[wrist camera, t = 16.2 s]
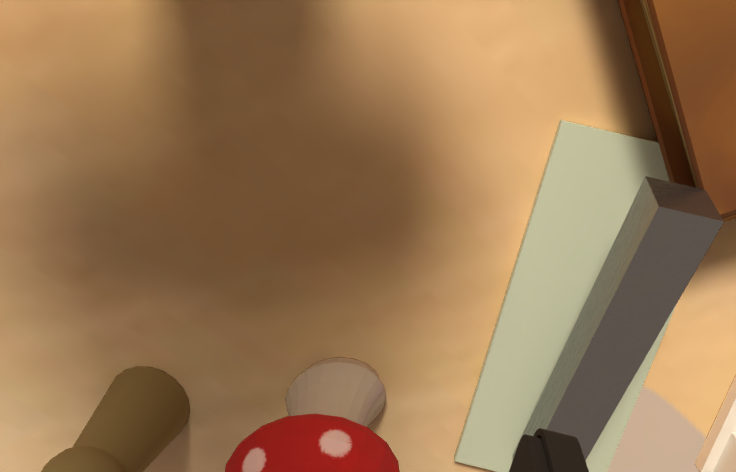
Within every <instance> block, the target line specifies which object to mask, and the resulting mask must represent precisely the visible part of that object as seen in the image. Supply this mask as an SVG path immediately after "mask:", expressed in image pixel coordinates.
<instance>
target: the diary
mask: <svg viewBox="0 0 736 472" xmlns="http://www.w3.org/2000/svg"><path fill="white" fill-rule="evenodd" d="M618 2H619V6H620V9H621V13H622V16H623V20H624V23H625V27H626V30H627V34H628V37H629V41H630V44H631V48H632V51H633V55H634V58H635V62H636V65H637V69H638V72H639V76H640V79H641V83H642V86H643V90H644V93H645V97H646V100H647V104H648V107H649V111H650V114H651V118H652V121H653V125H654V128H655V132H656V135H657V139H658V142H659V146H660V149H661V153H662V156H663V160H664V163H665V167H666V170H667V174H668V177H669V181H670V182H673V183H677V184H682V185H686V186H690V187H695V188H699V189H703V190H706V192H707V193H708V195H709V197H710V198H711V200H712V202H713V203H714V205H715V207H716V209H717V210H718V212H719V214H720V215H721V217H722V219H723V220H724V222H726V221H729V220H732V219H735V218H736V0H618Z"/></svg>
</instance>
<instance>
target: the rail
mask: <svg viewBox="0 0 736 472" xmlns="http://www.w3.org/2000/svg"><path fill="white" fill-rule="evenodd" d="M723 223H724V220H723V219H722V217H721V215H720V214H719V212H718V210H717V209H716V207H715V205H714V203H713V202H712V200H711V198H710V197H709V195H708V193H707V192H706V190H703V189H699V188H695V187H690V186H686V185H682V184H677V183H673V182H669V181H664V180H660V179H655V178H651V177H647V176H645V178H644V180H643V182H642V184H641V186H640V188H639V190H638V193H637V195H636V197H635V199H634V201H633V203H632V205H631V207H630V209H629V211H628V214H627V216H626V218H625V220H624V222H623V224H622V226H621V228H620V230H619V232H618V235H617V237H616V239H615V241H614V243H613V245H612V247H611V249H610V251H609V253H608V256H607V258H606V260H605V262H604V264H603V266H602V268H601V270H600V272H599V275H598V277H597V279H596V281H595V283H594V285H593V287H592V289H591V291H590V293H589V296H588V298H587V300H586V302H585V304H584V306H583V308H582V310H581V312H580V314H579V317H578V319H577V321H576V323H575V325H574V327H573V329H572V331H571V333H570V335H569V338H568V340H567V342H566V344H565V346H564V348H563V350H562V352H561V354H560V357H559V359H558V361H557V363H556V365H555V367H554V369H553V371H552V373H551V375H550V378H549V380H548V382H547V384H546V386H545V388H544V390H543V392H542V394H541V396H540V399H539V401H538V403H537V405H536V407H535V409H534V411H533V413H532V415H531V417H530V420H529V422H528V424H527V426H526V428H525V430H524V432H523V434H522V436H523V435H524V434H526V435H530V436H534V433H535V432H536V430H537V429H539V428H542V429H546V430H550V431H554V432H558V433H562V434H566V435H570V436H574V437H576V438H577V439H578V441H579V443H580V446H581V449H582V452H583V455H584V458H585V461H586V459H587V457H588V455H589V454H590V452H591V450H592V449H593V447H594V445H595V443H596V442H597V440H598V438H599V436H600V435H601V433H602V431H603V430H604V428H605V426H606V424H607V423H608V421H609V419H610V418H611V416H612V414H613V412H614V411H615V409H616V407H617V405H618V404H619V402H620V400H621V399H622V397H623V395H624V393H625V392H626V390H627V388H628V386H629V385H630V383H631V381H632V380H633V378H634V376H635V374H636V373H637V371H638V369H639V367H640V366H641V364H642V362H643V361H644V359H645V357H646V355H647V354H648V352H649V350H650V349H651V347H652V345H653V343H654V342H655V340H656V338H657V336H658V335H659V333H660V331H661V330H662V328H663V326H664V324H665V323H666V321H667V319H668V317H669V316H670V314H671V312H672V311H673V309H674V307H675V305H676V304H677V302H678V300H679V299H680V297H681V295H682V293H683V292H684V290H685V288H686V286H687V285H688V283H689V281H690V280H691V278H692V276H693V274H694V273H695V271H696V269H697V267H698V266H699V264H700V262H701V261H702V259H703V257H704V255H705V254H706V252H707V250H708V248H709V247H710V245H711V243H712V242H713V240H714V238H715V236H716V235H717V233H718V231H719V230H720V228H721V226H722V224H723ZM522 436H521V437H522ZM519 442H520V441H519ZM518 444H519V443H518ZM517 447H518V445H517ZM517 447H516V449H515V451H514V453H513V455H512V459H514V456H515V453H516V450H517Z"/></svg>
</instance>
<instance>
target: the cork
mask: <svg viewBox="0 0 736 472" xmlns="http://www.w3.org/2000/svg"><path fill="white" fill-rule="evenodd" d="M189 413H190V408H189V400H188V397H187V395H186V393H185V391H184V389H183V388H182V386H181V385H180V384H179V383H178V382H177V381H176V380H175V379H174V378H173V377H171V376H170V375H168V374H167V373H165V372H164V371H161V370H158V369H155V368H152V367H134V368H131V369H127V370H125V371H123V372H122V373H121V374H119V375H118V376H117V377H116V378H115V380H114V381H113V383H112V384H111V386H110V388H109V389H108V391H107V392H106V394H105V396H104V397H103V399H102V401H101V402H100V404H99V405H98V407H97V409H96V410H95V412H94V413H93V415H92V417H91V418H90V420H89V422H88V423H87V425H86V426H85V428H84V430H83V431H82V433H81V435H80V436H79V438H78V439H77V441H76V443H75V444H74V446H73V447H72V448H69V449H66V450H64V451H63V452H61V453H60V454H58V455H57V456H55V457H54V458H52V459H51V460H50V461H49V462H48V463H47V464H46V465H45V466H44V468H43V469H42V471H41V472H143V471H144V470H145V469H146V468H147V467H148V466H149V464H150V463H151V462H152V461H153V460H154V459H155V458H156V457H157V456H158V455H159V454H160V453H161V451H162V450H163V449H164V448H165V447H166V446H167V445H168V444H169V443H170V442H171V441H172V440H173V439H174V437H175V436H176V435H177V434H178V433H179V432H180V431H181V430H182V428H183V427H184V426H185V424H186V423H187V421H188V417H189Z"/></svg>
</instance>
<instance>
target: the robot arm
mask: <svg viewBox="0 0 736 472" xmlns="http://www.w3.org/2000/svg"><path fill="white" fill-rule="evenodd" d="M509 472H589V470H588V467H587V464H586V461H585V458H584V455H583V452H582V449H581V446H580V443H579V441H578V439H577V438H576V437H574V436H570V435H566V434H562V433H558V432H554V431H550V430H546V429H542V428H539V429H537V430H536V432H535V433H534V436H530V435H526V434H524V435H523V436H522V437H521V439H520V442H519V444H518V447H517V450H516V453H515V456H514V459H513V461H512V464H511V467H510V470H509Z"/></svg>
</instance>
